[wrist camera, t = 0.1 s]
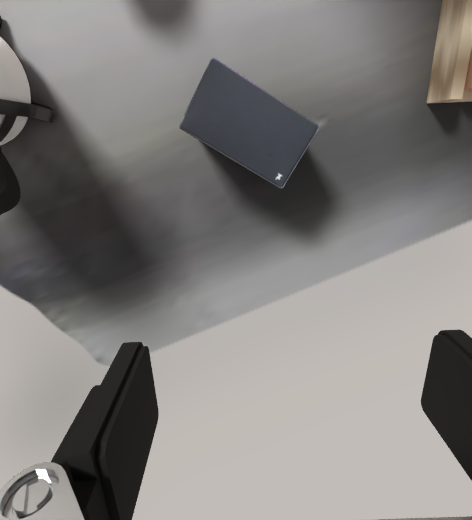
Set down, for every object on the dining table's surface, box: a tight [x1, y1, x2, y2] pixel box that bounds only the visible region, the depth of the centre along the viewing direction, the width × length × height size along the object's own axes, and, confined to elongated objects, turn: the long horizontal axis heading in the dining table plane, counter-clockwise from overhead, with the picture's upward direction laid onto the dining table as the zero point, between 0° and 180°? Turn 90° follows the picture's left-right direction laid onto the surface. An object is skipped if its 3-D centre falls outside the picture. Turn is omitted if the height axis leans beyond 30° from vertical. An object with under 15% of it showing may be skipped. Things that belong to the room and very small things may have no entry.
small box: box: [179, 58, 319, 188], centre depth 32 cm, size 11×6×10 cm, turn 60°
